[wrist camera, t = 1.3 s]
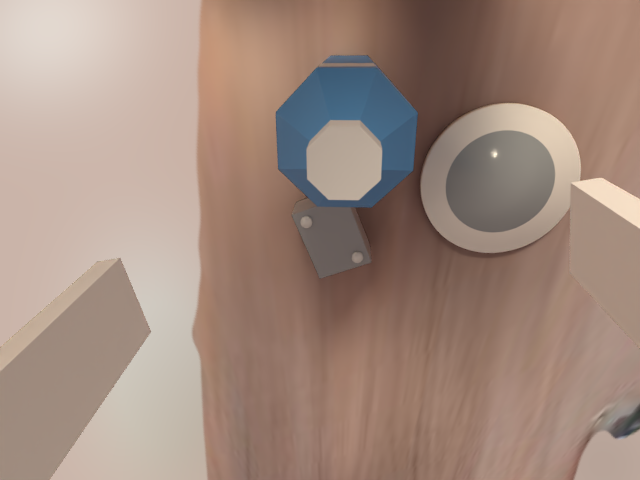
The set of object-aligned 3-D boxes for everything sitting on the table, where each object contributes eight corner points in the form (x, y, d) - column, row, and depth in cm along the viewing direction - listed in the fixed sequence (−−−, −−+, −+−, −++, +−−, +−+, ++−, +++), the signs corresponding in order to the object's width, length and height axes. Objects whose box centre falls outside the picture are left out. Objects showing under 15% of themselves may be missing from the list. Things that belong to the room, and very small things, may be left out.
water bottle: (407, 127, 47) (459, 212, 24) (323, 160, 49) (298, 268, 26) (376, 35, 43) (401, 33, 21) (287, 74, 45) (222, 113, 23)
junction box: (295, 202, 51) (291, 216, 47) (346, 184, 50) (345, 197, 46) (322, 262, 54) (319, 280, 50) (370, 246, 53) (371, 264, 49)
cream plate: (411, 119, 46) (412, 121, 45) (577, 87, 44) (583, 89, 43) (428, 258, 53) (430, 263, 52) (574, 236, 50) (579, 241, 49)
